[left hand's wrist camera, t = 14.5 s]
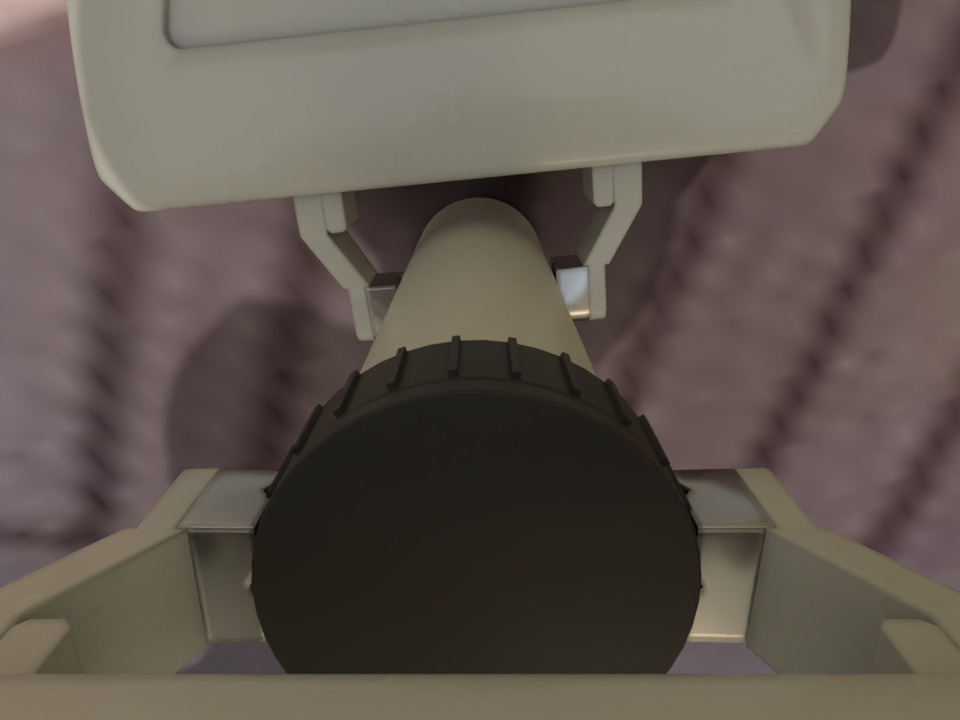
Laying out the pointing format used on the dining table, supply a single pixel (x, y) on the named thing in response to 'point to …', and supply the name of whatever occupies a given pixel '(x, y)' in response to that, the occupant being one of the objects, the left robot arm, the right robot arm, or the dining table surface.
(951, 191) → the dining table surface
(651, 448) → the lid
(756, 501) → the left robot arm
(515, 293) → the cream cylinder
